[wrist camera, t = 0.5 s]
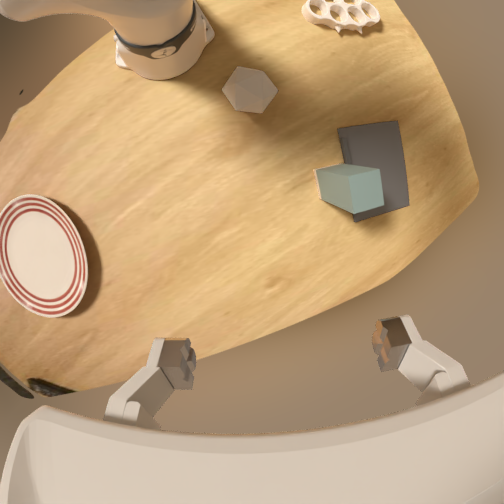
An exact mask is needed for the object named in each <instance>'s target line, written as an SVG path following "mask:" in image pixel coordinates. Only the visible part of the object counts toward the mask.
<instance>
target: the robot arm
mask: <svg viewBox="0 0 504 504" xmlns="http://www.w3.org/2000/svg"><path fill="white" fill-rule="evenodd" d="M0 13H1V14H2V15H4V16H5V17H7V18H10V19H12V20H16V21H22V22H23V21H28V20H32V19H35V18H39V17H43V16H47V15H53V14H65V13H73V14H85V15H91V16H96V17H99V18H103V19H105V20H106V21H108V22H109V23H110V24H111V25H112V26H113V28H114V30H115V33H116V35H114V41H115V42H116V41H117V43H116V64H117V66H118V67H120V68H125V69H131V70H133V71H134V72H136V73H137V74H138V75H140V76H142V77H144V78H147V79H152V80H164V79H170V78H173V77H176V76H178V75H181V74H182V73H184V72H186V71H187V70H189V69H190V68H191V67H192V66H193V65H194V64H195V63H196V62H197V60H198V59H199V57H200V55H201V53H202V51H203V49H204V47H205V46H206V45H207V44H208V43H209V42H210V41H211V40H212V39H213V38H214V37H215V33H214V30H213V28H212V27H211V25H210V23H209V22H208V20H207V19H206V17H205V15H204V14H203V12H202V10H201V9H200V7H199V6H198V4H197V2H196V1H195V0H0ZM206 29H207V31H206ZM376 328H377V330H376V331H375V332H374V333H373V337H372V344H373V349H374V352H375V353H376V354H378V355H379V357H378V360H377V361H378V364H379V367H380V370H381V372H384V371H389V370H394V369H398V370H399V371H400V372H401V373H402V374H403V375H404V376H405V377H406V378H407V379H409V380H410V381H411V382H412V383H413V384H414V385H415V386H416V387H417V388H418V389H419V390H420V391H421V392H422V395H421V396H420V397H419V399H418V400H417V402H416V405H417V406H415V407H412V408H409V409H405V410H402V411H398V412H395V413H391V414H387V415H384V416H379V417H375V418H371V419H366V420H361V421H356V422H351V423H346V424H341V425H335V426H328V427H322V428H314V429H306V430H297V431H287V432H274V433H254V434H210V433H207V434H206V433H189V432H177V431H166V430H161V426H160V425H159V424H158V423H157V421H156V420H155V419H153V417H154V415H155V414H156V413H157V411H158V410H159V409H160V408H161V406H162V405H163V404H164V403H165V402H166V400H167V399H168V398H169V397H170V395H171V394H172V393H173V392H174V389H181V390H185V389H187V390H189V389H191V390H192V387H193V381H194V376H193V374H192V372H193V371H194V370H195V367H196V355H195V352H194V349H192V348H191V347H190V345H191V342H190V340H189V338H155V339H154V341H153V344H152V347H151V351H150V354H149V357H148V361H147V364H146V367H142V368H141V369H140V370H139V371H138V372H137V373H136V374H134V375H133V376H132V377H131V378H130V379H129V380H128V381H127V382H126V383H125V384H124V385H123V386H122V387H121V388H119V389H118V390H117V391H116V392H115V393H114V394H113V395H112V396H111V397H110V399H109V402H108V405H107V408H106V412H105V415H104V419H103V420H99V419H94V418H90V417H86V416H82V415H78V414H74V413H71V412H67V411H64V410H61V409H57V408H54V407H51V406H47V405H44V406H41V407H40V408H38V409H37V410H35V411H34V412H33V413H31V414H30V415H29V416H27V417H26V418H25V419H24V420H23V421H22V422H21V424H20V426H19V427H18V429H17V431H16V434H15V436H14V439H13V442H12V444H11V447H10V450H9V453H8V457H7V460H6V463H5V466H4V470H3V475H2V480H1V484H0V504H504V370H503V371H501V372H499V373H497V374H495V375H493V376H491V377H489V378H487V379H485V380H483V381H481V382H478V383H476V384H474V385H472V386H471V385H470V383H469V381H468V378H467V376H466V374H465V372H464V370H463V367H462V366H461V364H460V363H458V362H457V361H455V360H454V359H452V358H451V357H449V356H448V355H446V354H445V353H443V352H442V351H440V350H439V349H438V348H436V347H435V346H433V345H432V344H430V343H429V342H427V341H426V340H424V341H423V340H422V338H421V337H420V334H419V332H418V330H417V328H416V326H415V325H414V323H413V321H412V319H411V317H410V315H408V314H407V315H402V316H396V317H391V318H386V319H381V320H378V321H377V322H376Z"/></svg>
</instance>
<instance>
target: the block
mask: <svg viewBox="0 0 504 504" xmlns="http://www.w3.org/2000/svg"><path fill="white" fill-rule="evenodd" d="M313 170H314V175H315V180H316V184H317V189H318V194H319V199H321V200H324V201H326V202H328V203H331V204H333V205H335V206H337V207H339V208H342V209H344V210H346V211H348V212H350V213H353V214H356V213H359V212H363V211H366V210H369V209H373V208H376V207H379V206H383V205H384V199H383V190H382V183H381V176H380V169H376V168H370V167H363V166H357V165H350V164H342V163H339V164H334V165H330V166H326V167H321V168H317V169H313Z"/></svg>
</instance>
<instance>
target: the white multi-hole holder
mask: <svg viewBox="0 0 504 504" xmlns="http://www.w3.org/2000/svg"><path fill="white" fill-rule="evenodd" d="M333 2H334V3H328V2H326V1H325V0H308V1H307V2H306V3H305V4H304V5H303V7H302V14H303V16H304V18H305V19H306V20H307V21H309V22H310V23H312V24H315V25H316V24H324V25H327V26H329V27H330V28H332V29H336V30H337V32H338V33H339V32H340V30H341V29H349V30H352V31H354V30H357V31H358V32H360V33H361V34H362V27H363V26H369V27H371V26H372V25H374V24H376V23H378V22H379V20H380V14H379V12H378V10H377V9H376V8H375V7H374V6H373V5H372V4H370V3H369V2H366V1H365V0H352V2H353V3H354V4H355V5H352V4H347V3H345V2H344V0H333ZM310 5H315V6H317V7H318V8H319V9H320V10H321V12H322V16H320V15H317V14H315V13H313V12H312V11H311V9H310ZM362 8H363V9H364V10H366V11H367V12H368V14H369V15H370V17H371V18H369V17H368V16H367V15H366V14H365V13H364V12H363V10H362ZM330 10H331V11H334V12H336V13H337V14H338V15H339V16H340V19H341V22H339V21H336V20H335V19H334V18H333V17H332V16H331V14H330ZM348 12H351V13H352V14H353V15H354V16H355V17H356V18H357V20H358V23H357V22H356V21H354V20H353V19H352V18H351V16H350V15H349V13H348Z"/></svg>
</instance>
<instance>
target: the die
mask: <svg viewBox="0 0 504 504" xmlns="http://www.w3.org/2000/svg"><path fill="white" fill-rule="evenodd" d="M221 90H222V91H223V93H224V94H225V96H226V97H227V99H228V100H229V102H230V103H231V104H232V106H233V107H234V109H235V110H236V111H244V112H253V113H263V111H264V110H265V109H266V107H267V106H268V104H269V103H270V102H271V100H272V99H273V98H274V96H275V95H276V94H277V92H278V89H277V88H276V87H275V85H274V84H273V83H272V81H271V80H270V79H269V78H268V76H267V75H266V74H265V72H264V71H261V70H256V69H251V68H246V67H240V66H237V67H236V69H235V70H234V72H233V73H232V75H231V76H230V78H229V79H228V80H227V82H226V83H225V85H224V86H223V88H222V89H221Z"/></svg>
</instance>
